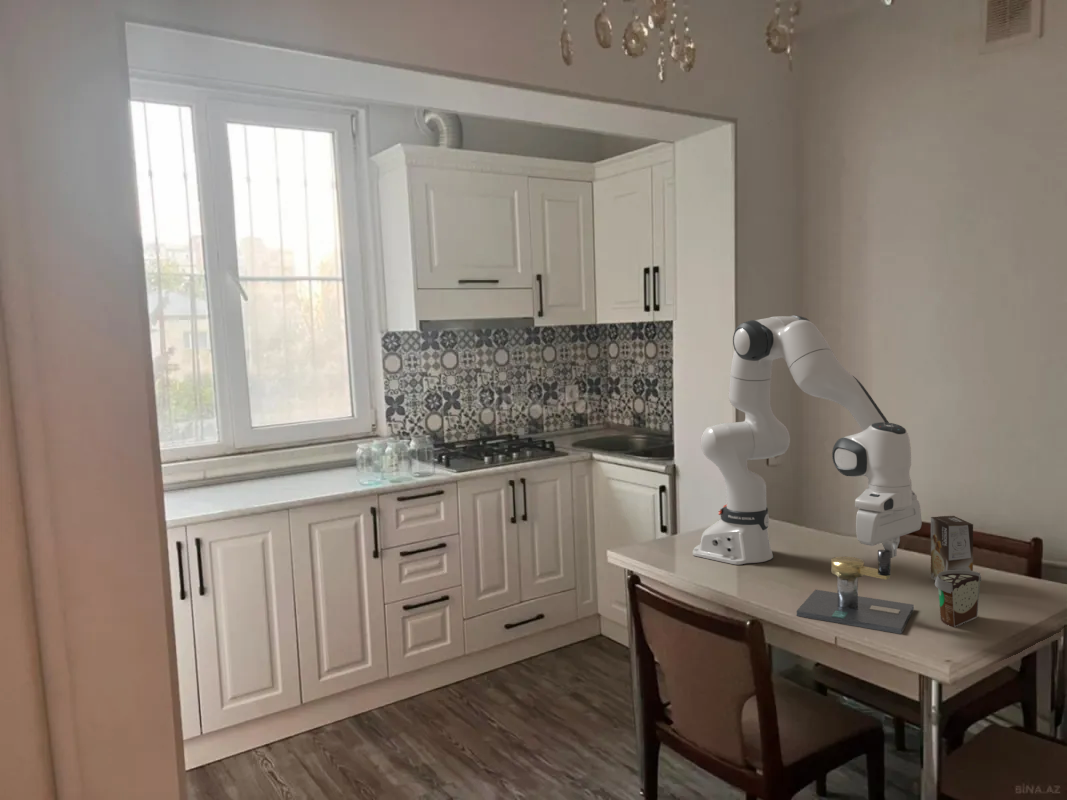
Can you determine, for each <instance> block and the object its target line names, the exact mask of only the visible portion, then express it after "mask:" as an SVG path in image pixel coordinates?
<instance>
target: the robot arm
mask: <svg viewBox="0 0 1067 800" xmlns="http://www.w3.org/2000/svg"><path fill="white" fill-rule="evenodd" d="M732 345H733V348H734V350H733V354H732V359H731V364H730V371H729V372H730V373H729V388H728V401H729V403H730V405H732V407H733V408H735V409H736V410H738V411H740V412H742V413H744V415H745V416H744V417H745V418H744V420H743V421H737V422H736V421H735V422H734V421H733V422H723V423H722V422H721V423H718V424H715V425H710V426H707V427H706V428H705V429H704V430H703V433H702V434H701V438H700V448H701V451H702V453H703V454H704V456H705V457H706V458H707V459H708V460H709V461H710V462H712V463H713V464H714V465H715V466H716V467H717V468H718V469H719V471H720V472H721V475H722V477H723V482H724V487H725V495H726V496H725V498H726V500H725V501H726V502H725V503H726V504H725V505H723V506H722V508H720V510H719V511H718V515H719V516H720V519H719V520H718V519H717V521H716V522H714V523H713V524H711V525H710V526H708V527H707V528H706V529H705V530H704V531H703V532H702V534H701V538H700V543H699V544H697V545H696V546H695V547H694V548H693V550H692V555H693V556H695V557H698V558H704V559H708V560H713V561H717V562H723V563H726V564H731V565H736V566H737V565H738V566H740V565H743V564H744V565H745V564H756V563H763V562H768V561H770V560H772V559H773V558H774V555H773V550H772V548H771V543H770V540H769V538H770V537H769V529H768V528H769V521H770V519H769V516H770V515H769V508H768V507H767V483H766V481H765V479H764V478H763V477H762V476H761V475H759V474H758V473H756V472H754V471H751V470H749V467H748V461H750V460H751V461H753V460H764V459H765V460H766V459H767V460H768V459H772V458H776V457H778V456H781V455H784V454H786V452H787V451H788V449H789V447H790V443H791V436H790V433H789V432H790V431H789V430H788V427H786V425H785V424H784V423H783V422H781V421H780V420H779V419H778V418H777V417H776V415H775V414H774V412H773V409H772V404H771V387H772V386H771V385H772V376H773V375H772V374H773V363H774V361H775V360H778V359H781V358H782V359H783V360H784V361H785V363H786V366H787V368H788V370H789V372H790V375H791V377H792V379H793V380H794V382H795V384H796V385H797V387H798V388H799V390H801V391H802V392H804V393H805V394H807V395H808V396H812V397H815V398H819V399H823V400H827V401H831V402H834V403H836V404H838V405H841V406H843V408H844V409H846V410H848V411H849V413H850V415H851V416H852V418H853V419H854V420H855V422H856V423H857V424H858V426H859V428H860V429H861V431H860V432H857V433H854V434H851V435H850V434H849V435H846V436H844V437H840V438H838V440H836V442H835V443H834V445H833V448H832V453H831V456H832V457H831V458H832V463H833V465H834V467H835V469H836V470H837V471H838V472H839V473H840V474H842V475H843V476H846V477H852V478H854V477H856V478H857V477H858V478H859V477H862V476H864V477H866V478H867V487H866V488H865V490H864V491H863V492H862V493H861V494H860V495H859V496H858V497H856V498H855V500H854V506H855V508H856V509H857V512H856V518H855V530H856V531H855V533H856V539H857V541H858V543H860V544H862V545H865V546H871V547H874V546H877V545H879V544H882V547H883V550H889V551H890V552H891V559H893V558H895V557H897V556H898V555H897V551H898V550H897V549H898V547H899V545H900V541H901V538H900V537H902V536H905V535H909V534H911V533H912V534H913V533H914V532H917V531H920V529H921V528H922V524H923V523H922V520H923V519H922V512H921V511H922V509H921V503H920V502H919V500H918V497H917V494H916V492H914V490H912V480H911V479H912V478H911V475H910V471H911V466H912V448H911V442H910V437H909V433H908V431H907V429H906V428H905V427H904V426H902V425H900V424H897V423H893V422H890V421H888V420H887V418H886V416H885V415H884V413H883V412H882V410H881V409H880V408H879V406H878V405H877V403H876V402H875V400H874V398H872V396H871V395H870V393H869V392H868V391H867V389H866V388H865V386H864V385H863V384H862V383H861V381H860V380H859V379H857V378H856V377H855V376H854V375H852V374H851V373H850V372H849V371H848V370H847V369H846V368H845V367H844V366H843V364H842V363H841V362H840V361H839V360H838V359H837V357H836V355H835V353H834V352H833V350H832V347H831V346H830V344H829V342H828V341H827V340H826V338H825V336H824V335H823V333H822V332H821V331H820V330H819V328H818V327H817V326H816V325H815V323H813V322H812V321H810V320H809V319H808V318H806V317H804V316H802V315H801V316H800V315H790V316H787V315H786V316H785V315H783V316H782V315H780V316H779V315H778V316H777V315H776V316H771V317H767V318H766V317H765V318H761V319H759V318H758V319H750V320H748V321H744V322H741V323H740V324H739V325H737V326H736V328H735V330H734V332H733V336H732Z"/></svg>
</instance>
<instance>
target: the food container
mask: <svg viewBox="0 0 1067 800" xmlns="http://www.w3.org/2000/svg"><path fill="white" fill-rule="evenodd" d="M981 582H982V575H981V572H979V571H974V570H973V571H966V570H948V571H943V572H940V573H939V574H938V576H937V577H936V581H935V580H934V586H935V587H936V588H937V589H938V598H939V599H938V601H939V611H940V615H939V616H940V620H941V622H942V624H945V625H946V626H948V625H949V626H948V627H951V628H954V627H955V628H956V626H957V627H959V626H961V625H963V623H964V624H966V623H968V622H970V621H972V620H975V619H976V618H978V616H979V615H978V613H979V602H980V601H979V599H980V585H981ZM965 622H966V623H965ZM958 625H959V626H958Z"/></svg>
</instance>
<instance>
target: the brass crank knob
mask: <svg viewBox="0 0 1067 800" xmlns="http://www.w3.org/2000/svg"><path fill="white" fill-rule="evenodd" d="M830 560H831V561H830V562H831V565H830V567H831V571H830V572H831V573H832V574H833V575H834V576H836V577H837V576H840V577H846V578H857V577H858V578H861V577H863V576H867V577H872V578H877V579H881V580H886V581H887V580H889V579H890V578H891V565H892V564H891V560H892V558H891V552H890V551H889V550H885V549H878V550H877V568H875V567H870V566H865V561H864V560H863V559H861V558H858V557H853V556H836V557H833V558H831V559H830Z"/></svg>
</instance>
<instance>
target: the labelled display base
mask: <svg viewBox="0 0 1067 800" xmlns="http://www.w3.org/2000/svg"><path fill="white" fill-rule="evenodd" d="M836 577H837V579H836V580H837V584H836V585H837V589H836V590H837V592H833V591H826V590H820V589H814V591H812V593H811V594H809V596H808V597H807V599H805V600H804V602H803V603H802V604H801V605H800V606H799V608H798V609H797V610H796V616H797V617H800V618H801V617H802V618H808V619H813V620H817V621H824V622H830V623H835V624H840V625H847V626H852V627H858V628H864V629H871V630H875V631H881V632H887V633H892V634H899V635H902V634H903V632H904V630H905V628H906V626H907V624H908V623H909V620H910V618H911V616H912V614H913V612H914V609H915V607H914V606H915V605H914V604H912V603H905V602H898V601H892V600H885V599H879V598H873V597H868V596H860V595H859V577H857V578H846V577H840V576H836Z"/></svg>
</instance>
